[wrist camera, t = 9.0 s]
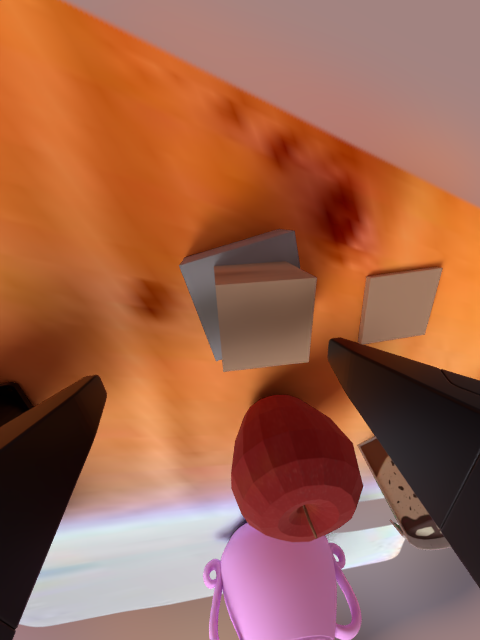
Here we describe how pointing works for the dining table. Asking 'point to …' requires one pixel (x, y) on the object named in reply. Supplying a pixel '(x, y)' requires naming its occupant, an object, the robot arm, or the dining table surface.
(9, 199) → the dining table surface
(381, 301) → the tile
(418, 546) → the food container
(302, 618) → the pink pot
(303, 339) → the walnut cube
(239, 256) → the grey flat block
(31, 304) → the dining table surface
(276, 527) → the apple
